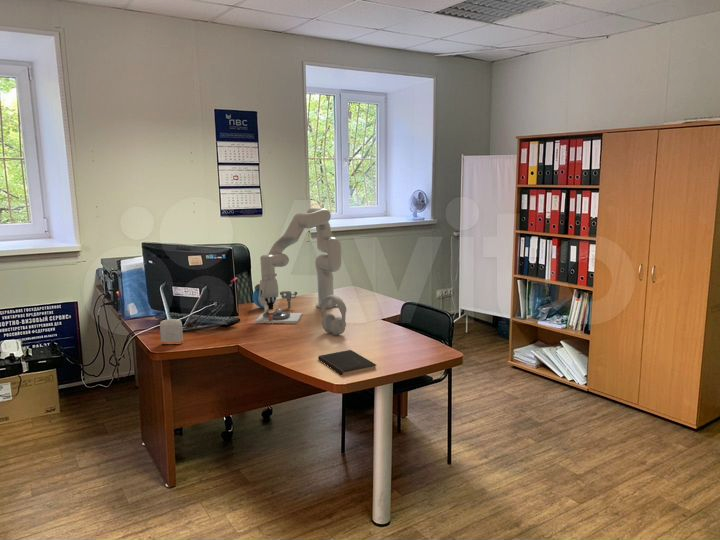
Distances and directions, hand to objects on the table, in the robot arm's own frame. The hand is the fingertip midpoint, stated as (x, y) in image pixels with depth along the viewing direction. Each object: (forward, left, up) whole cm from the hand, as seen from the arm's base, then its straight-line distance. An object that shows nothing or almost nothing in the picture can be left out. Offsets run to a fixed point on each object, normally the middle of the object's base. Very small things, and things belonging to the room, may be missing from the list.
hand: (270, 308), depth 310 cm
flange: (-4, +4, -3) cm, 7 cm away
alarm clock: (+8, -23, -5) cm, 25 cm away
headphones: (-39, +34, -5) cm, 52 cm away
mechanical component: (-7, -22, -5) cm, 24 cm away
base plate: (-6, +5, -5) cm, 9 cm away
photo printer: (+38, +48, -5) cm, 61 cm away
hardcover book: (-48, +78, -6) cm, 91 cm away
